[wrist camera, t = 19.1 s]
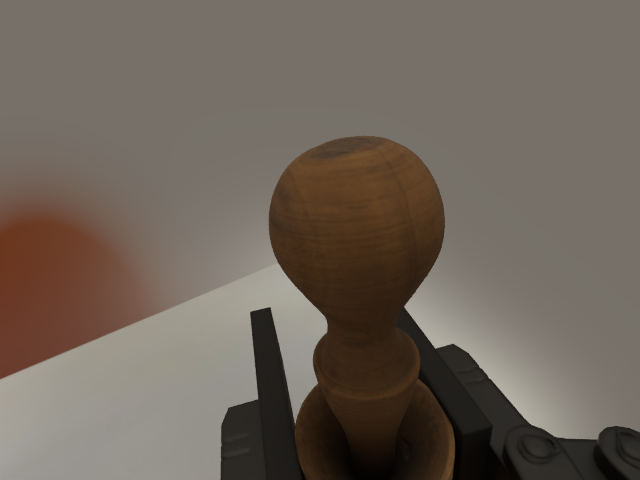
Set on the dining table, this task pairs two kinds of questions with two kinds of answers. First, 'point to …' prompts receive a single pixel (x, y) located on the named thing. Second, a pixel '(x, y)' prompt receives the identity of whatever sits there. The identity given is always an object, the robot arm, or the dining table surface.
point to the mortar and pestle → (363, 307)
